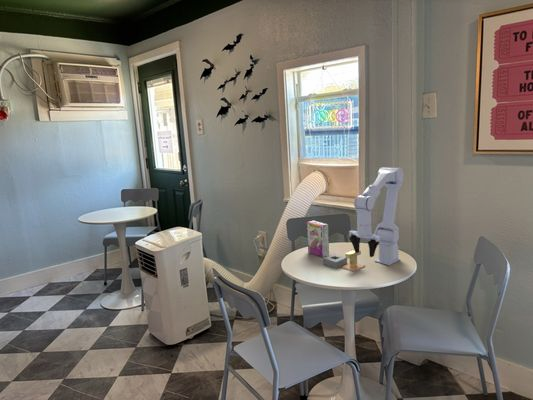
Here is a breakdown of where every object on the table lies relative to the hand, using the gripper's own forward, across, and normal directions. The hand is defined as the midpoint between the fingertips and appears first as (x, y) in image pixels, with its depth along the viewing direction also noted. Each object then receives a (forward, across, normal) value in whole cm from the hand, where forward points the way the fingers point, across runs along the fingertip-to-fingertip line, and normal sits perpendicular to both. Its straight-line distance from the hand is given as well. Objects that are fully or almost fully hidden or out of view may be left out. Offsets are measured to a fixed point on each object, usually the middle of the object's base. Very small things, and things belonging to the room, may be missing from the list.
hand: (364, 254), depth 166 cm
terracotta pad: (+9, -9, +4) cm, 14 cm away
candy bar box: (+10, -33, +7) cm, 35 cm away
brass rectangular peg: (+9, -9, +4) cm, 13 cm away
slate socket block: (+9, -18, +2) cm, 20 cm away
